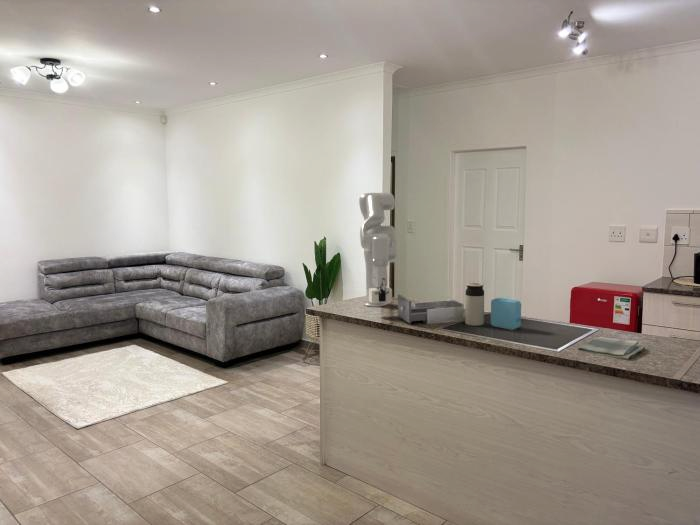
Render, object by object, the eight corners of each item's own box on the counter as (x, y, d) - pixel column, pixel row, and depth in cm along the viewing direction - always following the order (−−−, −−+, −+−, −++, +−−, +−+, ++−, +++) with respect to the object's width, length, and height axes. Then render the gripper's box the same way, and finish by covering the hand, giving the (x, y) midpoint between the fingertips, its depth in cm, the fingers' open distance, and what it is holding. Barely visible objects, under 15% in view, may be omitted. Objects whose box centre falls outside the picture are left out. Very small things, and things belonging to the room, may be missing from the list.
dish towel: (576, 351, 196) (576, 343, 195) (595, 341, 208) (595, 333, 207) (630, 362, 182) (631, 353, 182) (647, 351, 195) (648, 342, 194)
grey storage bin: (414, 316, 253) (414, 299, 252) (448, 313, 257) (448, 297, 256) (427, 324, 237) (427, 306, 236) (463, 321, 241) (463, 303, 240)
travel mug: (471, 326, 231) (471, 285, 229) (461, 322, 239) (462, 283, 236) (487, 325, 234) (488, 284, 231) (477, 321, 241) (478, 281, 239)
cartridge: (368, 300, 256) (368, 288, 255) (388, 298, 258) (388, 286, 257) (371, 303, 251) (371, 290, 250) (392, 301, 253) (392, 289, 252)
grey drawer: (395, 315, 250) (395, 294, 249) (432, 313, 254) (432, 292, 253) (406, 323, 235) (406, 300, 234) (445, 320, 240) (445, 298, 238)
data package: (520, 328, 227) (521, 300, 225) (515, 330, 224) (516, 302, 222) (495, 323, 236) (496, 297, 234) (490, 325, 233) (490, 298, 231)
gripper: (367, 259, 258) (367, 296, 262) (377, 266, 242) (378, 305, 245) (382, 258, 260) (382, 294, 263) (393, 265, 244) (393, 303, 247)
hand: (380, 299), depth 254 cm, fingers closed on cartridge, 5 cm apart
